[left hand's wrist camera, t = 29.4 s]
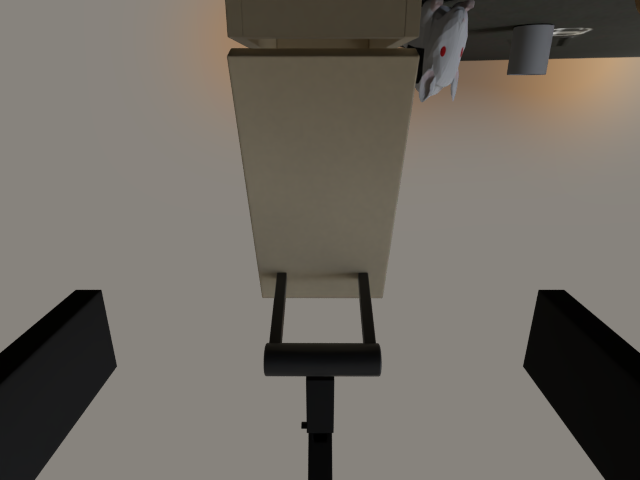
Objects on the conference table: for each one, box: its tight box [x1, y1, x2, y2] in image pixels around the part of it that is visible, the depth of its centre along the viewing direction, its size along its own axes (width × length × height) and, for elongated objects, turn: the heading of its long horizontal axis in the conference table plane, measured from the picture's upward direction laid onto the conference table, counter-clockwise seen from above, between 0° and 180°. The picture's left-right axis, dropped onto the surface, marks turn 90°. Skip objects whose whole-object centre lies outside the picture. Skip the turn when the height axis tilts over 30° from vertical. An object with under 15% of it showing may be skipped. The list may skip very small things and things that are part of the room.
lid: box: [227, 48, 420, 376], centre depth 23 cm, size 18×9×9 cm
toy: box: [403, 0, 475, 102], centre depth 73 cm, size 9×24×15 cm, turn 157°
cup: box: [507, 25, 554, 75], centre depth 96 cm, size 8×8×10 cm
